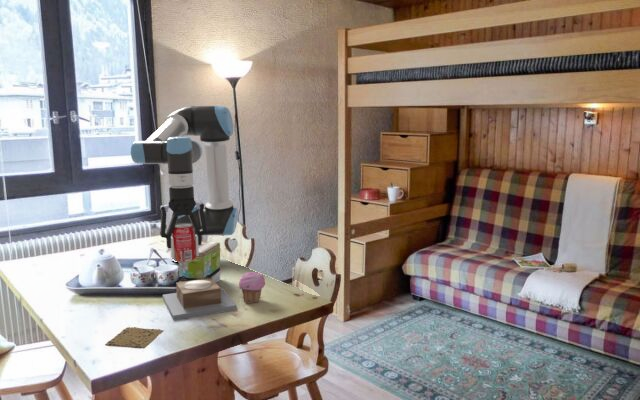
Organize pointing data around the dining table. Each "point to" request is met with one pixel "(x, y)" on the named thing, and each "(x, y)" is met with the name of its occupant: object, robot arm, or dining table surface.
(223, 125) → the robot arm
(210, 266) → the tea box
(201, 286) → the block
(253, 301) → the cupcake
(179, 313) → the base board
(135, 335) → the brown flat square slab
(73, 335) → the dining table surface
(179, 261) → the soda can
